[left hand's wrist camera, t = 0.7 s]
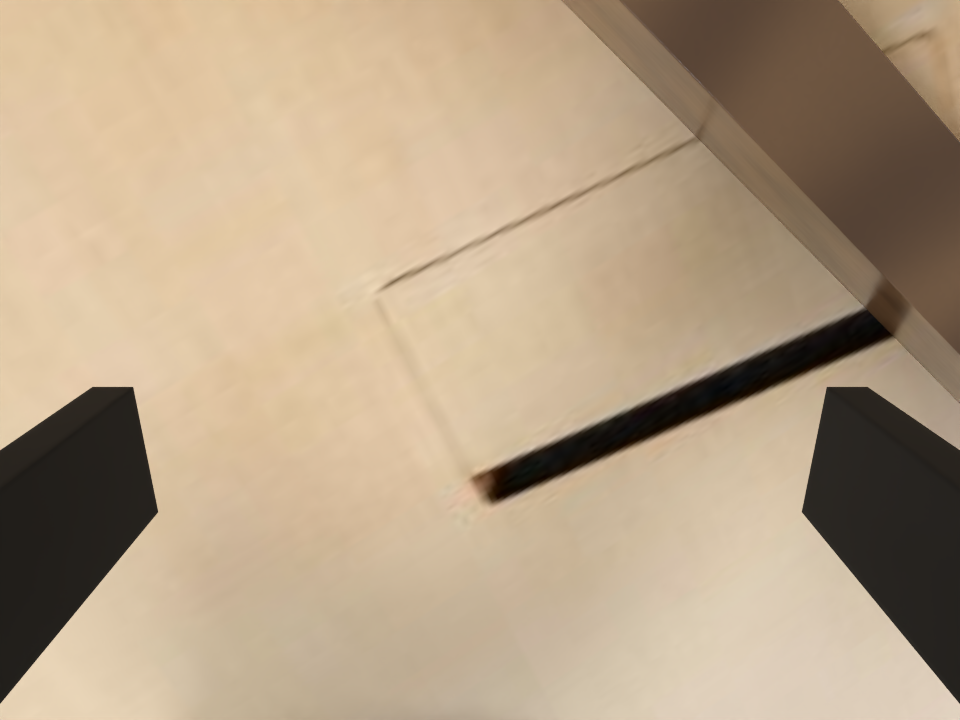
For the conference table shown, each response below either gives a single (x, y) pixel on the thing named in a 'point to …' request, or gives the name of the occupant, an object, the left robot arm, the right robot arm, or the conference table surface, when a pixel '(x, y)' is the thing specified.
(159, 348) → the conference table surface
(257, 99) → the conference table surface
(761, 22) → the beam
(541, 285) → the conference table surface
